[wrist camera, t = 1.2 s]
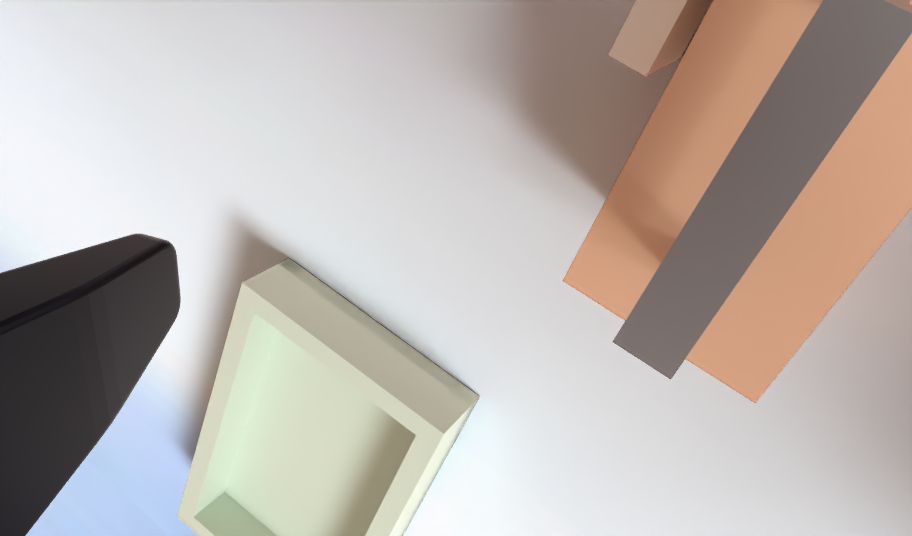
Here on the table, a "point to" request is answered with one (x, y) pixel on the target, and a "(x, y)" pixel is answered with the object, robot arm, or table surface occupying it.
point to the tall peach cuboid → (757, 186)
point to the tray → (317, 419)
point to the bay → (657, 33)
